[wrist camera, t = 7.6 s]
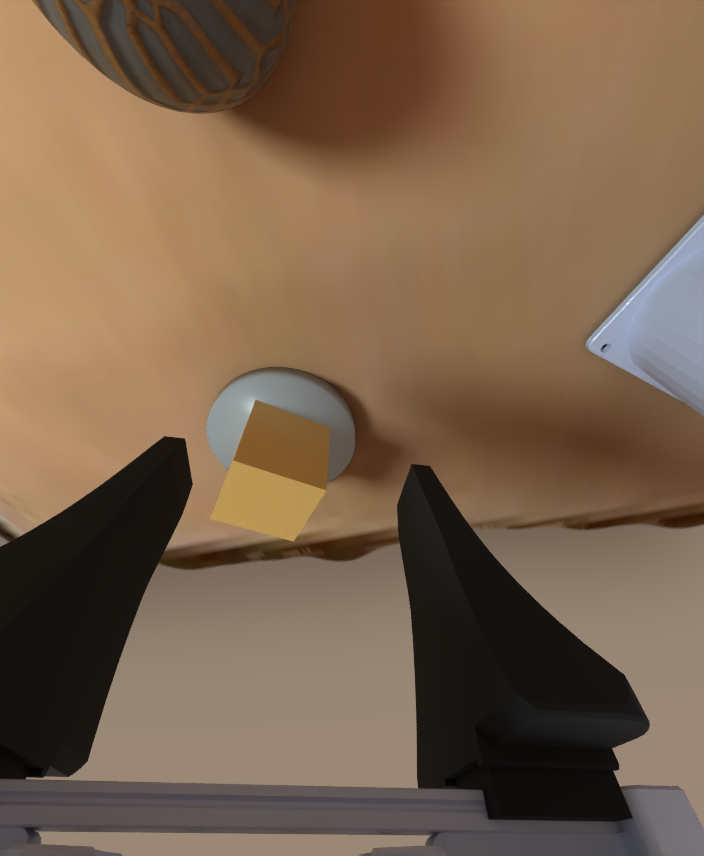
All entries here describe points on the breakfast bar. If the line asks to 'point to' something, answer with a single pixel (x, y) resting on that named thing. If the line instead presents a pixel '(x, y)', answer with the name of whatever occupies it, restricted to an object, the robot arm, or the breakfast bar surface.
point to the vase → (179, 46)
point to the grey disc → (288, 394)
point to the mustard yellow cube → (275, 473)
